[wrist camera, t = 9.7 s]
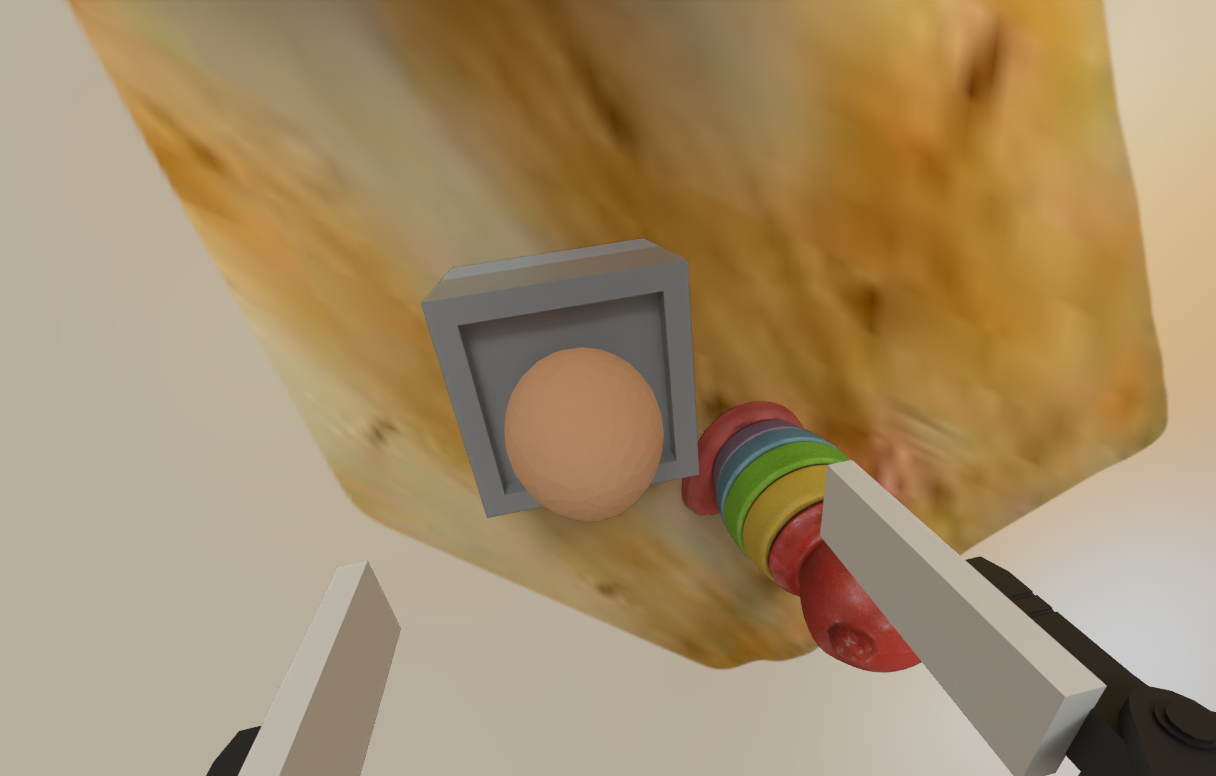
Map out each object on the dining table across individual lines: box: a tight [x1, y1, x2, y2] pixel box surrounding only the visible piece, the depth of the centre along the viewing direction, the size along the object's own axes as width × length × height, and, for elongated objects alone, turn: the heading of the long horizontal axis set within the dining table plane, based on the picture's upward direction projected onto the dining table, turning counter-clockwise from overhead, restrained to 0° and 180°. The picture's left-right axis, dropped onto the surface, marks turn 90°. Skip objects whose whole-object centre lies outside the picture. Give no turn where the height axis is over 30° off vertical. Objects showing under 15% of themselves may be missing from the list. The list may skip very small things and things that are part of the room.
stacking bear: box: [682, 402, 922, 672], centre depth 29 cm, size 11×10×18 cm
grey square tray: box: [421, 238, 699, 518], centre depth 27 cm, size 12×12×9 cm
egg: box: [504, 347, 664, 522], centre depth 20 cm, size 7×7×9 cm
